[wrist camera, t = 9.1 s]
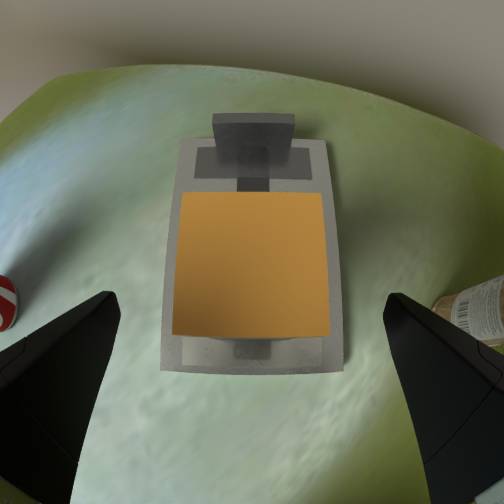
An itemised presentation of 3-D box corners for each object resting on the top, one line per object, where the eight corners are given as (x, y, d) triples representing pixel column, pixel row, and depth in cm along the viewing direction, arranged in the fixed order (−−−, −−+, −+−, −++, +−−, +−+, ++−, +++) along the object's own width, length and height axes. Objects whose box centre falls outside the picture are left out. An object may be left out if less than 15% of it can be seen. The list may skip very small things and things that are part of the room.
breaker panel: (338, 370, 19) (358, 374, 15) (165, 369, 19) (145, 373, 15) (322, 148, 25) (332, 117, 21) (184, 147, 25) (174, 116, 21)
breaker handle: (285, 342, 18) (329, 335, 8) (218, 341, 18) (172, 334, 8) (284, 277, 20) (321, 193, 9) (219, 277, 20) (182, 192, 9)
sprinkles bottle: (460, 355, 19) (591, 339, 6) (419, 344, 20) (560, 322, 7) (469, 303, 20) (591, 257, 8) (431, 288, 21) (558, 226, 8)
